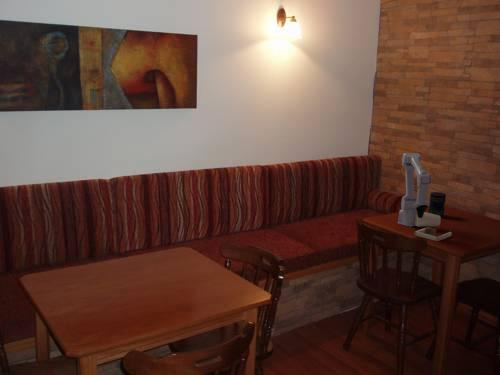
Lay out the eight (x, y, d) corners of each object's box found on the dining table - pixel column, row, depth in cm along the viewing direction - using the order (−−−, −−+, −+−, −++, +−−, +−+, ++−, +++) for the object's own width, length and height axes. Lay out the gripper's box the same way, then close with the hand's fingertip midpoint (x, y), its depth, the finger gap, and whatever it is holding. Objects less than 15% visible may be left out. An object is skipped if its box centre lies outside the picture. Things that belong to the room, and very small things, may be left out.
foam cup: (438, 214, 311) (416, 211, 313) (441, 212, 302) (418, 209, 304) (437, 229, 309) (414, 226, 311) (440, 228, 300) (417, 225, 302)
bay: (414, 235, 294) (414, 231, 294) (428, 230, 305) (428, 226, 304) (437, 241, 284) (437, 237, 283) (451, 235, 295) (451, 232, 294)
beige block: (424, 236, 293) (425, 228, 292) (428, 234, 296) (429, 227, 295) (431, 238, 290) (432, 230, 289) (435, 236, 292) (436, 229, 292)
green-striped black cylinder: (427, 213, 344) (429, 191, 341) (442, 214, 342) (444, 192, 339) (429, 217, 334) (431, 194, 331) (444, 218, 332) (447, 195, 329)
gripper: (422, 197, 286) (419, 221, 288) (435, 194, 295) (432, 217, 298) (410, 195, 291) (408, 218, 293) (424, 192, 300) (421, 214, 303)
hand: (420, 217), depth 296 cm, fingers closed
